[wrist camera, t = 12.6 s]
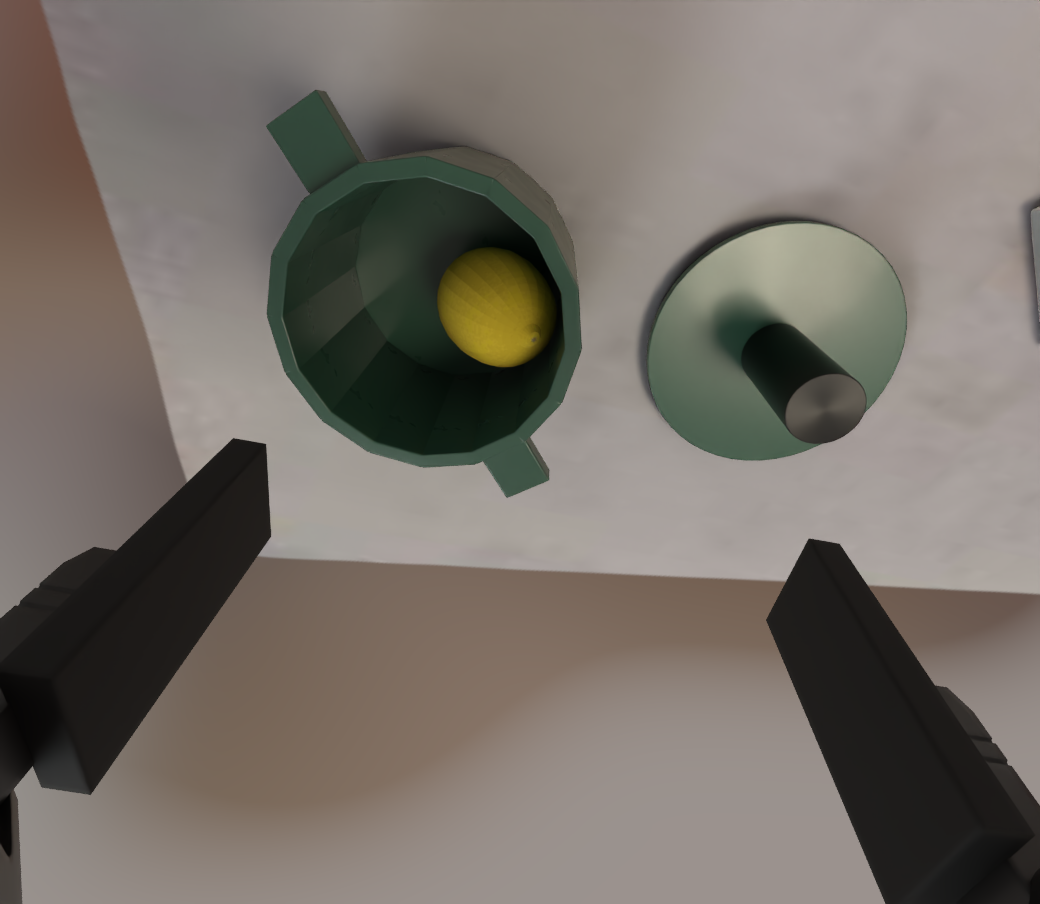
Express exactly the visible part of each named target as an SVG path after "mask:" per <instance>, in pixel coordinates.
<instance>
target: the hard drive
mask: <svg viewBox="0 0 1040 904" xmlns="http://www.w3.org/2000/svg"><path fill="white" fill-rule="evenodd" d="M1031 228H1032V243H1033V254H1034V266H1035V276H1036V287H1037V300H1038V310H1039V320H1040V207H1037V208H1035V209H1033V210H1032V211H1031Z"/></svg>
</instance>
